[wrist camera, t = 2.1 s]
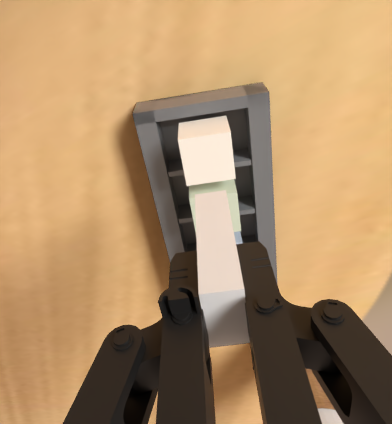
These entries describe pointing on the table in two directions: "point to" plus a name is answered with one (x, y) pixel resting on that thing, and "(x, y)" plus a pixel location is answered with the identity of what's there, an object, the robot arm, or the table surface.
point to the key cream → (206, 150)
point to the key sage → (213, 187)
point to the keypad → (242, 153)
